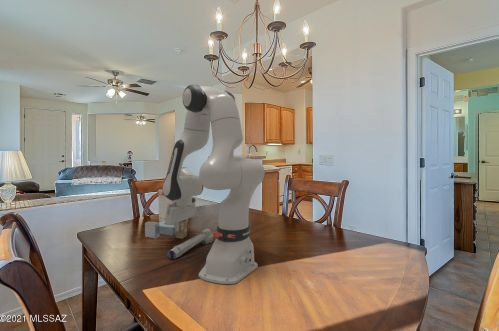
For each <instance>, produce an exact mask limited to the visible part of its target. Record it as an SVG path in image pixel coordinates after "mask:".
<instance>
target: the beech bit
mask: <svg viewBox="0 0 499 331" xmlns="http://www.w3.org/2000/svg"><path fill="white" fill-rule="evenodd" d="M178 225H179V227H180V231H178V232H177V231H176V234H175V239H184V238H186V237H187V236H188V228H187V227H188V222H187V220H183V221H181V222H179V224H178Z"/></svg>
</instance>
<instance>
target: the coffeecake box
mask: <svg viewBox="0 0 499 331" xmlns="http://www.w3.org/2000/svg"><path fill="white" fill-rule="evenodd" d="M157 196H158V222H159V223H160V222H162V221H165V214H166V210H167V207H168V206H169V205H170V204H171V200H169V199H168V198H166V197H165V196H164V194H163V191H162V189H158V193H157Z"/></svg>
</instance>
